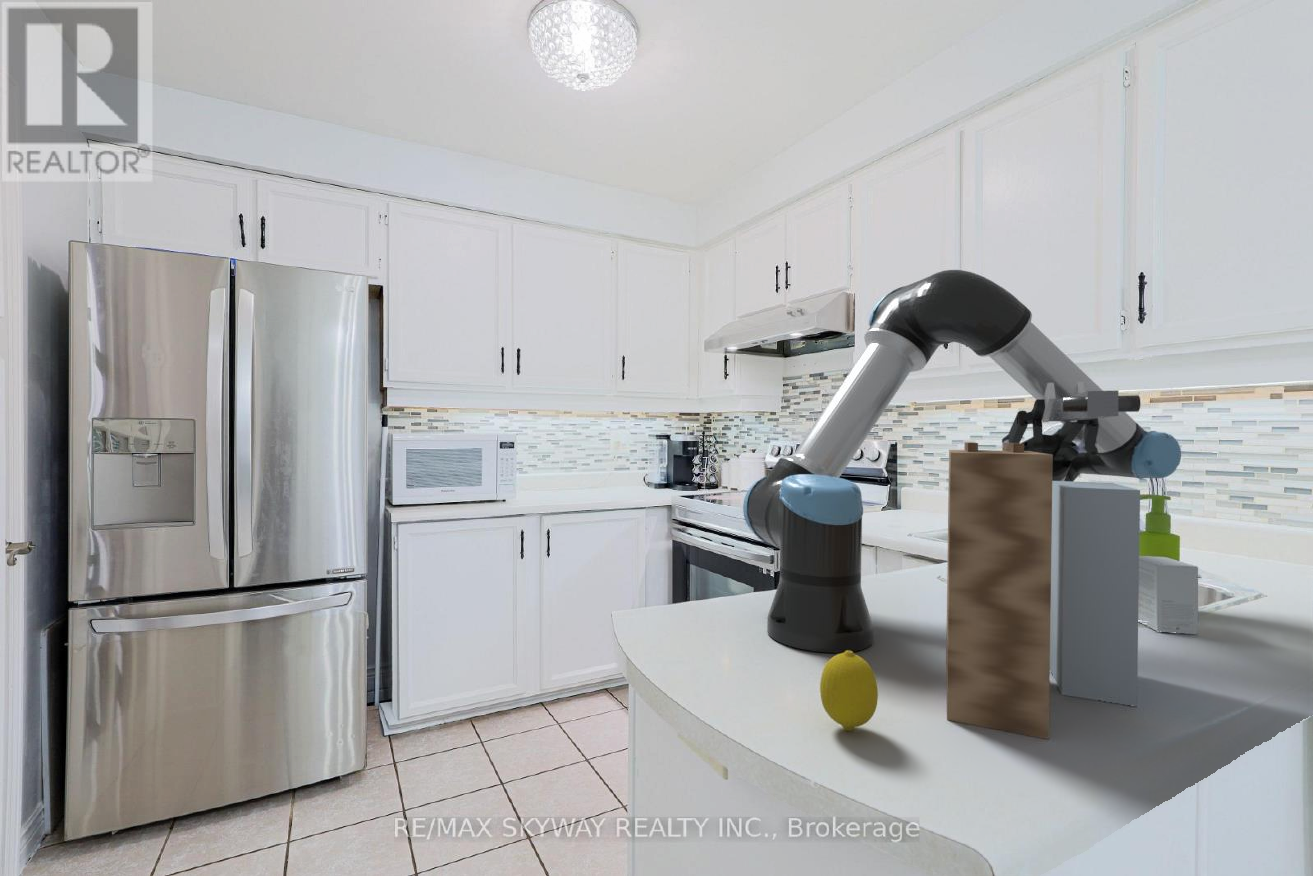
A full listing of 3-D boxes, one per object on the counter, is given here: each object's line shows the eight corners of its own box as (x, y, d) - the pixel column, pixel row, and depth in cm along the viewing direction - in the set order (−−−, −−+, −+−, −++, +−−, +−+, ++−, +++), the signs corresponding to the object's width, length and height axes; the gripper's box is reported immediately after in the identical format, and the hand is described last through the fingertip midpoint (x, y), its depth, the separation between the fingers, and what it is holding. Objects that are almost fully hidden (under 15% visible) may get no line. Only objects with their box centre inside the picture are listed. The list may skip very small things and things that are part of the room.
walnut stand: (946, 719, 63) (950, 442, 63) (946, 662, 79) (949, 442, 79) (1048, 739, 59) (1052, 444, 59) (1025, 674, 75) (1029, 443, 75)
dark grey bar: (1064, 416, 68) (1065, 391, 68) (1029, 421, 93) (1029, 403, 93) (1142, 415, 65) (1142, 389, 65) (1083, 421, 90) (1083, 402, 90)
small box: (1198, 636, 91) (1200, 566, 91) (1156, 633, 92) (1157, 564, 92) (1165, 620, 99) (1166, 556, 99) (1127, 617, 100) (1128, 554, 100)
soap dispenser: (1121, 603, 109) (1122, 492, 109) (1163, 605, 108) (1165, 493, 108) (1142, 612, 103) (1144, 496, 103) (1187, 614, 102) (1189, 497, 102)
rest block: (1061, 694, 69) (1064, 487, 69) (1045, 660, 80) (1048, 480, 80) (1137, 707, 66) (1140, 490, 66) (1109, 669, 77) (1112, 482, 77)
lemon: (811, 718, 63) (812, 642, 63) (862, 716, 63) (863, 641, 63) (831, 745, 57) (832, 661, 57) (887, 743, 58) (888, 660, 58)
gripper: (1100, 488, 98) (1140, 412, 80) (990, 484, 105) (1002, 413, 86) (1095, 448, 102) (1132, 366, 83) (988, 446, 108) (1000, 370, 90)
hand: (1066, 390), depth 85 cm, fingers closed on dark grey bar, 3 cm apart
